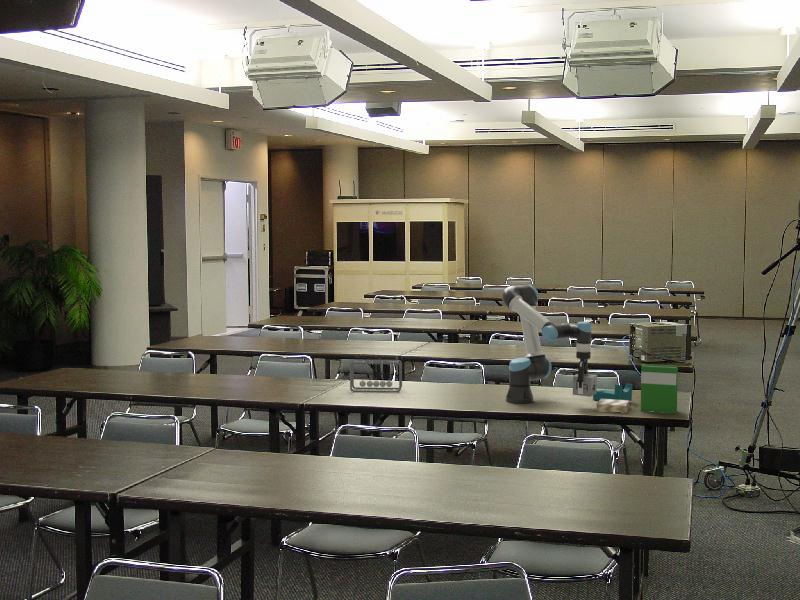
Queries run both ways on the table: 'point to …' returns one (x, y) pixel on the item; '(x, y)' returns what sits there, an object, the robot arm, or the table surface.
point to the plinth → (613, 405)
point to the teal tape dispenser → (615, 393)
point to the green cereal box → (659, 388)
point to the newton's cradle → (376, 383)
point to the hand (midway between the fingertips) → (582, 391)
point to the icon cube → (586, 385)
